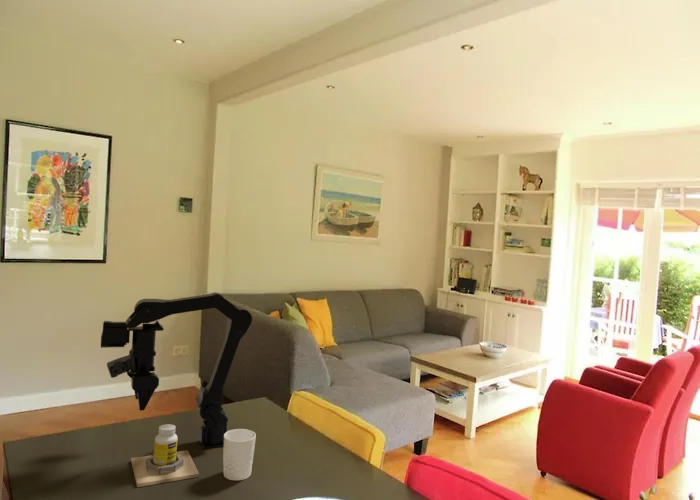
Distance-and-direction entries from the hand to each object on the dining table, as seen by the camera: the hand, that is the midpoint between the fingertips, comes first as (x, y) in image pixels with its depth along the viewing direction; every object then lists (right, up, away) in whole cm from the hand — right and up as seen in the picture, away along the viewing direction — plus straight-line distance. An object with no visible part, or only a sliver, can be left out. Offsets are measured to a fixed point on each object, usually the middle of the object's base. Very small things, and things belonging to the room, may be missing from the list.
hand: (139, 404), depth 132 cm
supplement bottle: (+10, -13, -8) cm, 18 cm away
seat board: (+10, -14, -9) cm, 19 cm away
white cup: (+28, -15, -9) cm, 33 cm away
